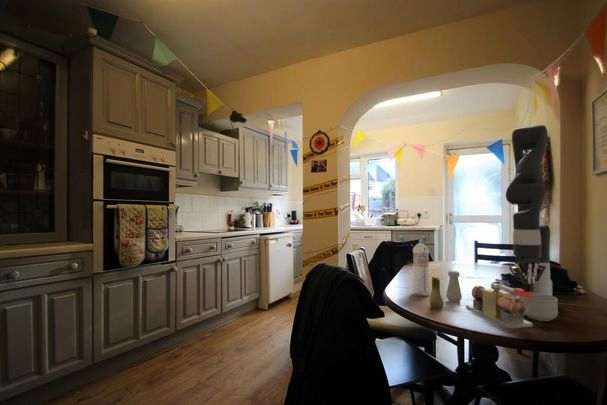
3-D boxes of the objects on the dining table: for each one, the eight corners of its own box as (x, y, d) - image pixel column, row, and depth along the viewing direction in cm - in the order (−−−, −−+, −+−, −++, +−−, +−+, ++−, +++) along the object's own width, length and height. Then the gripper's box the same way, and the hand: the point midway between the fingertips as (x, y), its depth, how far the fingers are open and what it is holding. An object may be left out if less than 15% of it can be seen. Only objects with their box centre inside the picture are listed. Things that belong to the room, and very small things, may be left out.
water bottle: (430, 293, 134) (429, 239, 135) (427, 297, 129) (427, 241, 129) (414, 291, 138) (414, 239, 139) (411, 294, 132) (411, 240, 133)
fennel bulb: (430, 304, 119) (430, 275, 119) (444, 306, 116) (443, 276, 117) (428, 308, 114) (428, 278, 114) (442, 310, 111) (442, 279, 112)
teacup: (561, 326, 97) (560, 302, 97) (521, 319, 103) (520, 297, 103) (552, 314, 109) (552, 292, 109) (517, 308, 115) (516, 288, 115)
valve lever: (489, 287, 107) (488, 282, 107) (495, 287, 108) (495, 281, 108) (526, 298, 94) (526, 292, 94) (534, 298, 95) (534, 291, 95)
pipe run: (486, 307, 116) (486, 282, 116) (532, 326, 96) (532, 297, 97) (466, 308, 115) (466, 283, 115) (509, 328, 95) (508, 298, 95)
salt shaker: (463, 304, 119) (463, 272, 120) (448, 303, 120) (448, 272, 121) (459, 300, 125) (458, 269, 125) (444, 299, 126) (444, 269, 127)
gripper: (521, 244, 93) (523, 299, 92) (553, 243, 96) (555, 295, 95) (500, 242, 100) (502, 292, 100) (531, 240, 103) (532, 289, 103)
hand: (528, 293), depth 97 cm, fingers closed
